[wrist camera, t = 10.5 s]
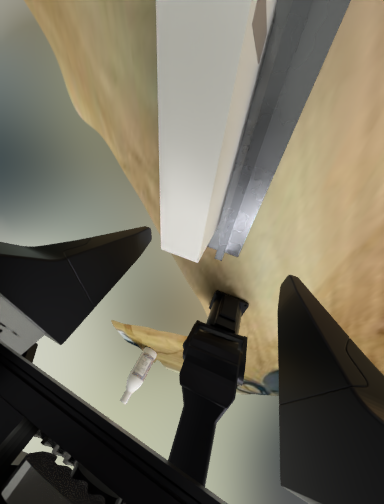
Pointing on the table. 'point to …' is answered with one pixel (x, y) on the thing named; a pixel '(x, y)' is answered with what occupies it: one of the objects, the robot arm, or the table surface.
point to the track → (276, 109)
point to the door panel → (203, 109)
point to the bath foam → (139, 372)
